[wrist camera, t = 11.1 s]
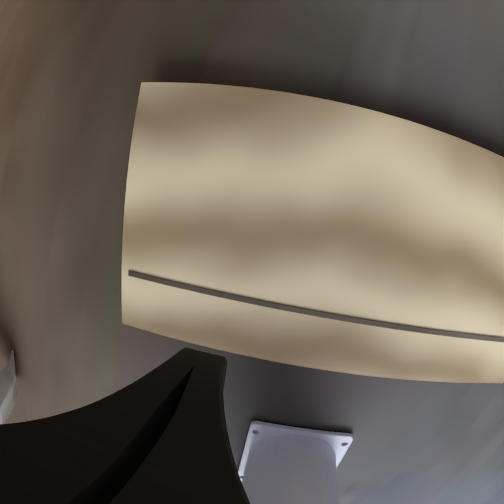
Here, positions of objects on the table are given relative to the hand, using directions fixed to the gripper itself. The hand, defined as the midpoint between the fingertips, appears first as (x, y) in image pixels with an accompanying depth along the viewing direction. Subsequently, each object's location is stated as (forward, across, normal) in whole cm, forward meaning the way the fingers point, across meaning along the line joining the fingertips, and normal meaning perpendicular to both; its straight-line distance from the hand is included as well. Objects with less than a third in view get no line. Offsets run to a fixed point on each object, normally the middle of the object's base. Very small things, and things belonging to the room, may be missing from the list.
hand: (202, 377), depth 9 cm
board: (+9, -9, -3) cm, 13 cm away
